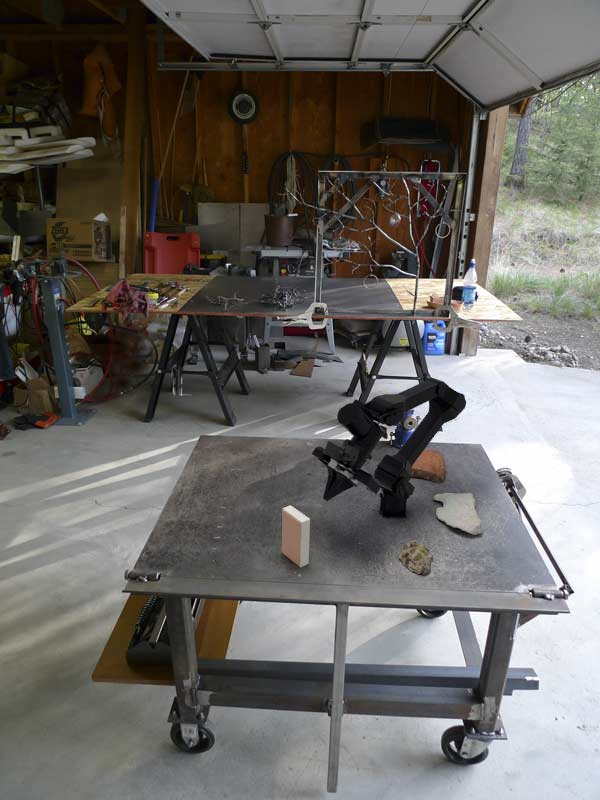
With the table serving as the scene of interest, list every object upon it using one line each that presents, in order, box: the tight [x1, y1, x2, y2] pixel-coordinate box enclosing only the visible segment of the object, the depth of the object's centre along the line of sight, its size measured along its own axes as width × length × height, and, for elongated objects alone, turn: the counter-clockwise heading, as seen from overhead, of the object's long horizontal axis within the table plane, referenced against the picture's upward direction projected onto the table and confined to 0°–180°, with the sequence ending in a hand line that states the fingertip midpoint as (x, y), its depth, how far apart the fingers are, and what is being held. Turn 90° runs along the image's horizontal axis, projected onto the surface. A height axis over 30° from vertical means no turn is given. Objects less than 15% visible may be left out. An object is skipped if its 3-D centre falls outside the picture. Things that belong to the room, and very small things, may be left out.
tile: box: [281, 504, 311, 568], centre depth 136 cm, size 2×7×12 cm, turn 39°
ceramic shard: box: [411, 449, 446, 483], centre depth 179 cm, size 15×6×15 cm
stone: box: [433, 492, 483, 536], centre depth 156 cm, size 13×4×20 cm
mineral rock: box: [397, 539, 434, 576], centre depth 138 cm, size 11×4×8 cm
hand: (324, 499), depth 139 cm, fingers closed
